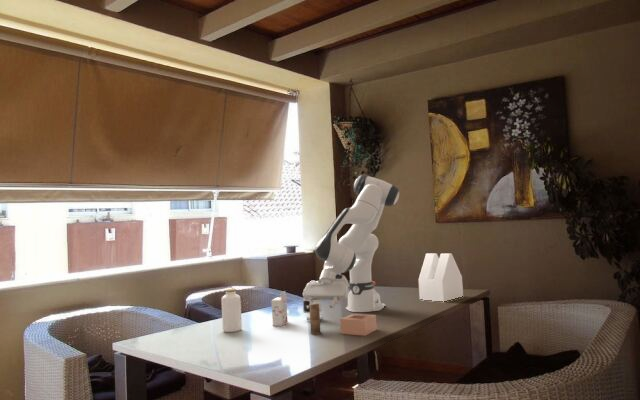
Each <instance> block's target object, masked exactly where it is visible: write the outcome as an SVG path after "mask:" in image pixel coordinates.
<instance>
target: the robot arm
mask: <svg viewBox="0 0 640 400" xmlns="http://www.w3.org/2000/svg"><path fill="white" fill-rule="evenodd" d="M353 192H354V194H356V195H357V196H356V197H357V198H356V199H355V201H354V203H353V204H352V206H351V207H346V208H344V209H343V210H342V211H341V212H340V213H339V214H338V215H337V217H336V218H335V219H334V220H333V222H332V223H331V225H330V227H329V228H328V229H327V230H326V232H325V234H324V235H322V237H321V238H320V239H319V240H318V242H317V243H316V245H315V248H314V252H315V255H316V257H317V258H318V259H320V260H322V261H324V264H323V269H322V270H321V273H320V275H319V278H318V279H319V280H311V281H308V282H307V283H306V285H305V287H304V289H303V291H302V297H303V299H305V300H309V301H310V304H312V303H313V301H314V300H321V301H331V302H329V305H328V306H329V308H331V309H334V308H335V306H336V305H337V304H338V302H339V301H346V300H347V306H346V307H345V310H347V311H349V312H350V313H351V312H353V313H369V312H377V311H378V312H379V311H381V310H382V309H383V308H384V306H385V307H386V303H382V302H381V296H380V293H378V292H377V291H376V289H375V285H376V281H373V280H372V279H373V278H372V277H373V276H372V264H373V260H374V259H373V258H374V255H375V253H376V251H377V249H378V248H379V244H380V243H379V238H378V237H377V236H376V234H374V233H373V231H375V230H376V229H377V228H378V224H379V222H380V221H381V220H380V219H381V217H382V214H383V212H384V207H392V206H394V205H395V204H396V203H397V202H398V200H399V199H400V198H399V197H400V189H399V187H397V186H396V185H394V184H391V183H389V182H387V181H385V180H384V179H381V178H380V179H379V178H376V177H372V176H369V175H368V174H360V175H359V176H357V178H356V179H355V181H354V182H353ZM346 224H351V226H350V228H349V229H348V231H346V233H344V235H342V236H341V237H340V238H339V240H338V241H336V240H335V237H336V236H337V235H338V234H339V232H340V231H341V229H342V228H343V226H345V225H346ZM347 272H349V280H348V279H347V277H346V276H345V275H344V274H345V273H347ZM342 273H343V274H342Z"/></svg>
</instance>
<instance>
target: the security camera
mask: <svg viewBox="0 0 640 400" xmlns="http://www.w3.org/2000/svg"><path fill="white" fill-rule="evenodd" d="M313 303H319V312H322V310H323V309H322V300H314V301H313ZM309 304H310V301H309V300H305V298H303V299H302V311H303V313H305V314H310V307H309ZM320 319H321V320H323V315H320ZM306 320H307V321H310V315H309V316H307V317H306Z"/></svg>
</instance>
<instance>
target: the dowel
mask: <svg viewBox="0 0 640 400" xmlns="http://www.w3.org/2000/svg"><path fill="white" fill-rule="evenodd" d="M309 307H310V313H309V316H310V320H309V322H310V335H320V334H322V333H321V331H322V330H321V320H320V316H321V315H320V311H319V303H312V304H309Z"/></svg>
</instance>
